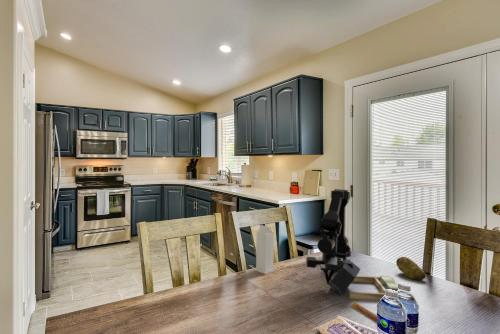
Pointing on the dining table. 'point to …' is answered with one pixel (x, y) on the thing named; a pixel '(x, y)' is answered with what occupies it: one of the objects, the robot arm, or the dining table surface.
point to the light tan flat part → (380, 282)
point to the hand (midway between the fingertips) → (327, 283)
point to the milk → (264, 250)
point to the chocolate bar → (364, 311)
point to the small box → (344, 278)
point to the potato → (410, 268)
